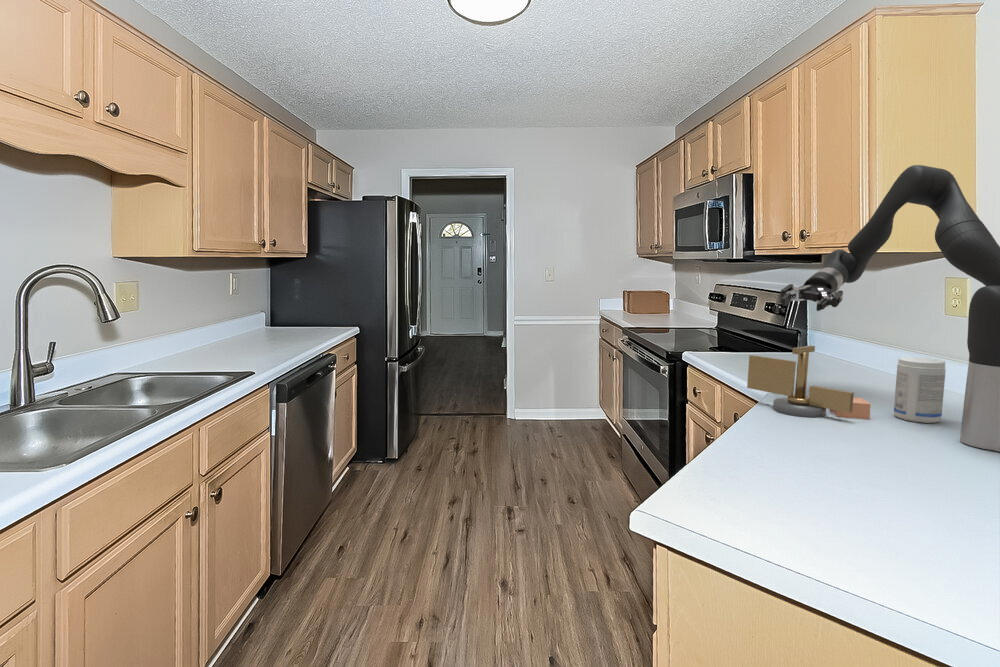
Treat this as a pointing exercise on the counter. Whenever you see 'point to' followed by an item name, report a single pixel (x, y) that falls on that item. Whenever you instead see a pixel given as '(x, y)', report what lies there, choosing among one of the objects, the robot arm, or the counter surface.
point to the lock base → (797, 409)
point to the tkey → (782, 376)
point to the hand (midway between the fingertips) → (800, 304)
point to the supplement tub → (919, 389)
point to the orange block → (856, 410)
